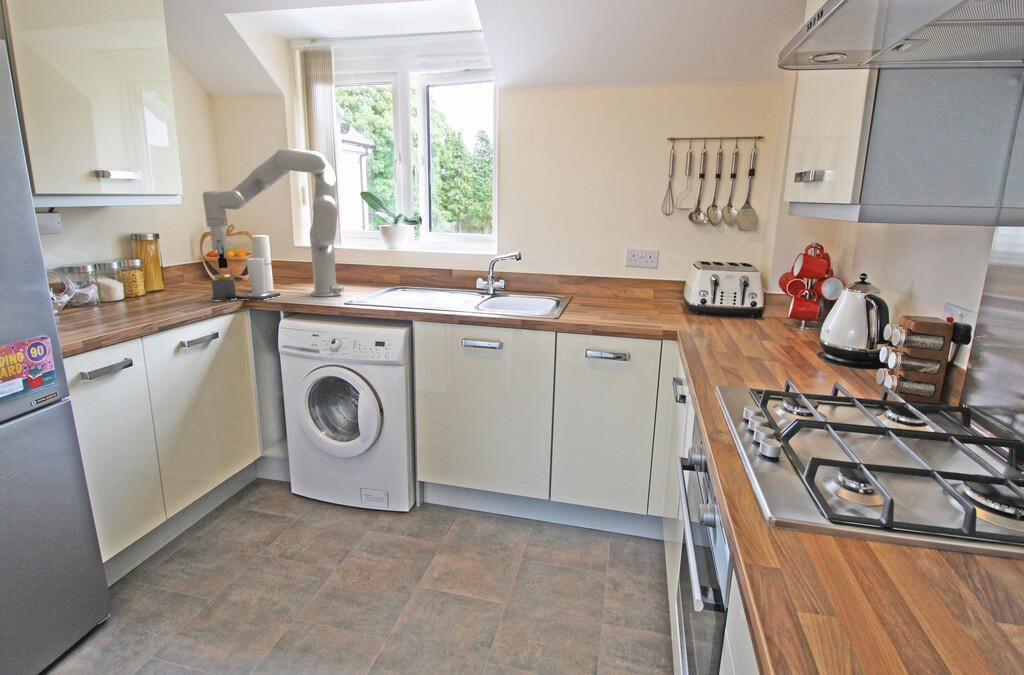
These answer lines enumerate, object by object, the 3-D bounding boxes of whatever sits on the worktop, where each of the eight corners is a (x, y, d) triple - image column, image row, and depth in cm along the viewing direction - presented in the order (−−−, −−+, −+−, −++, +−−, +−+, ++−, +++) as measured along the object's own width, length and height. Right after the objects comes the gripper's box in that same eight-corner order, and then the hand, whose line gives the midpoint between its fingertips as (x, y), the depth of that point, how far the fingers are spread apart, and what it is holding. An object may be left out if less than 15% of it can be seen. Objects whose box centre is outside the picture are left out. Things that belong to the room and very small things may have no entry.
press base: (280, 296, 249) (278, 277, 247) (253, 303, 232) (251, 282, 230) (241, 294, 253) (239, 275, 251) (211, 300, 237) (209, 280, 235)
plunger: (235, 293, 241) (233, 274, 239) (225, 296, 235) (223, 276, 233) (223, 293, 242) (221, 273, 240) (213, 295, 237) (210, 275, 235)
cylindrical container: (269, 292, 258) (264, 236, 252) (253, 292, 258) (248, 236, 252) (276, 290, 265) (271, 235, 259) (260, 289, 265) (255, 235, 259)
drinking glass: (262, 292, 248) (259, 257, 245) (270, 294, 244) (266, 258, 240) (247, 294, 243) (243, 258, 240) (254, 296, 239) (250, 260, 235)
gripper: (207, 222, 237) (214, 266, 242) (205, 223, 224) (212, 270, 228) (227, 221, 240) (234, 265, 244) (226, 223, 227) (233, 269, 231)
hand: (223, 267), depth 236 cm, fingers closed
